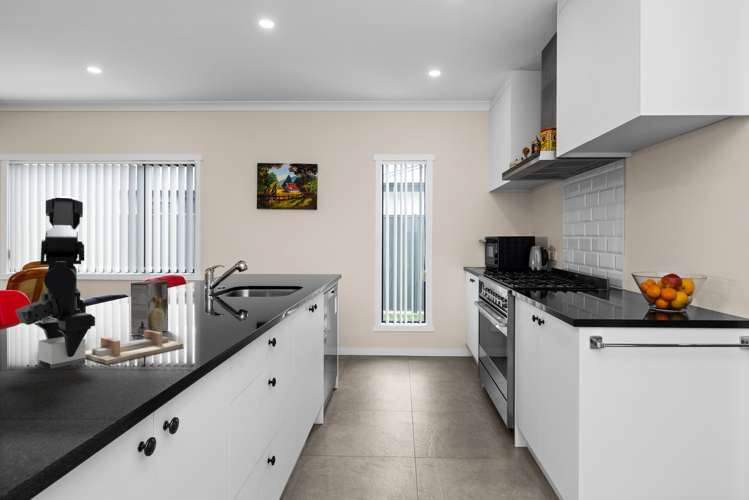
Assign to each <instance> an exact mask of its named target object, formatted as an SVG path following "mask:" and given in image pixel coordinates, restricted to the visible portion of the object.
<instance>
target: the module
mask: <svg viewBox="0 0 749 500" xmlns="http://www.w3.org/2000/svg"><path fill="white" fill-rule="evenodd" d="M85 350H86V338H85V337H84V338H83V339H82V341H81V343H80V345H79V347H78V349H77V351H76V352H75V354H74V356H73V357H68V356H67V351H66V345H65V338H64V337H59V338H52V339H47V338H46V339H41V340H38V364H39V365H44V364H48V365H50V366H49V368H50V369H57V368H62V367H67V366H71V364H72V365H76V364H81V363H85V362H86V358H85ZM80 362H81V363H80ZM66 365H67V366H66Z"/></svg>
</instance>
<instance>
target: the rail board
mask: <svg viewBox="0 0 749 500" xmlns="http://www.w3.org/2000/svg"><path fill="white" fill-rule="evenodd" d="M182 348H184V343H182V342H177V341H174V340H173V341H172V340H169V336H164V335H163V332H156V331H152V330H144V336H143V338H140V339H136V340H135V339H134V340H130V341H125V342H121V340H119V339H116V338H112V337H107V336H104V337H101V338H100V346H99V347H93V348H88V349H85V359H87V358H88V359H89V360H90V359H91V361H94V362H97V361H98V362H97V363H100V362H101V364H103V363H104V365H106V364H107V365H110V364H115V363H119V362H124V361H128V359H129V360H133V358H134V359H137V357H138V358H142V356H143V357H146V356H151V355H156V354H160V353H165V352H169V351H174V350H177V349H182ZM88 359H87V360H88Z"/></svg>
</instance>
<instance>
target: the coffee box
mask: <svg viewBox="0 0 749 500" xmlns="http://www.w3.org/2000/svg"><path fill="white" fill-rule="evenodd" d="M144 330H152V331H156V332H161V333H164V332H163V331H165V332H167V330H168V331H169V281H168V280H147V281H139V282H138V281H137V282H130V333H131V334H133V335H144ZM131 334H130V335H131Z"/></svg>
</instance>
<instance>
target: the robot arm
mask: <svg viewBox="0 0 749 500" xmlns="http://www.w3.org/2000/svg"><path fill="white" fill-rule="evenodd" d="M83 206H84V203H83V201H81V200H77V199H76V198H75V197H73V196H61V195H60V196H59V195H57V196H53V197H51V198H50V199H46V200H45V216H46V217H49V218H48V219H49V223H50V225H51V226H52V227H51V228H50V229H48V230H46V231H45V237H44V239H41V243H40V245H41V246H40V265H41V266H48V268H47V269H46V273H45V275H44V278H43V284H44V286H45V287H46V292H43V294H42V295H41V300H38V301H34V302H32V303H29V304H27V305H23V306H21V307H20V308H17V309H15V313H16V316H17V318H18V320H19V322H20V324H22V325H23V324H25V325H26V326H30V325H33V324H34V326H37V327H39V328H40V329H41V330H43V332H44V335H45V337H46V339H52V338H59V337H64V338H65V345H66V351H67V356H68V357H73V356H74V354H75V352H76V351H77V349H78V347H79V345H80V343H81V341H82V339H83V338H84V339H85V336H86V334H87V333H88V331H89V330H91V328H92V327H95V326H96V317H95V316H94V315H93V314H91V313H87V303H86V302H85V300H84V298H82V297H81V291H79V289H78V285H77V284H78V279H77V276H78V275H77V274H78V271H77V268H76V265H82V262H84V261H85V244H84V242H83V240H82V239H79V237H78V236H79V232H78V231H77V228H78V227H79V225H80V224H81V218H83V216H84V207H83Z"/></svg>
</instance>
